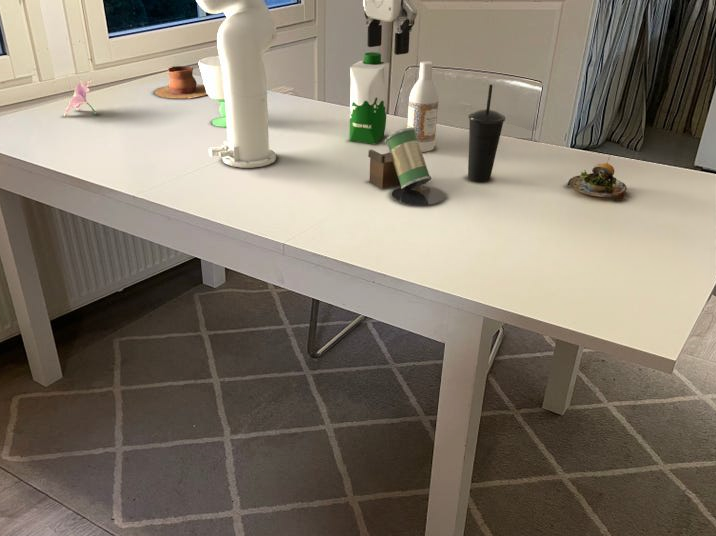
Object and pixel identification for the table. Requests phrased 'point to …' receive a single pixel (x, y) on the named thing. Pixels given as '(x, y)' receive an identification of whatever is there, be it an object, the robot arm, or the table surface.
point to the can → (408, 159)
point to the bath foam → (424, 107)
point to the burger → (599, 182)
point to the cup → (214, 84)
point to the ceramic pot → (181, 84)
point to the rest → (382, 170)
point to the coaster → (418, 196)
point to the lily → (79, 97)
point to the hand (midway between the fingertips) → (387, 49)
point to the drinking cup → (483, 141)
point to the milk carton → (368, 99)
